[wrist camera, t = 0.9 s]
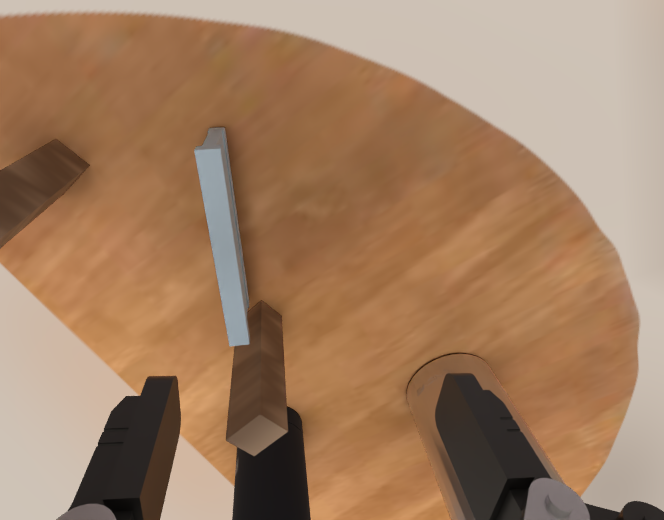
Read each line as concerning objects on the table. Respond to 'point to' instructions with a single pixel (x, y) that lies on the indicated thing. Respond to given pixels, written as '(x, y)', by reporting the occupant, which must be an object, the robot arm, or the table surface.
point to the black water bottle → (273, 479)
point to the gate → (224, 232)
